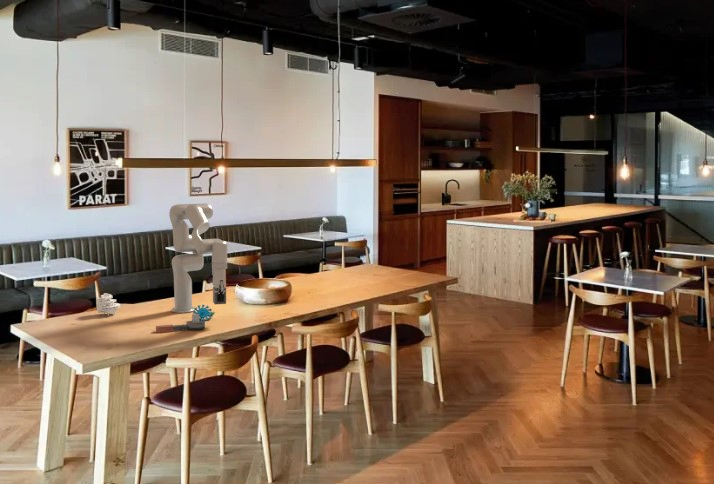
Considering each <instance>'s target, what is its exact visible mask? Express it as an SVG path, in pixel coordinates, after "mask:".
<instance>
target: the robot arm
mask: <svg viewBox="0 0 714 484" xmlns="http://www.w3.org/2000/svg"><path fill="white" fill-rule="evenodd" d="M168 214H169V219H170V224H171V226H172V239H173V240H172V241H173V248H174V251H175V252H177V253H185V254H179V255H178V254H177V255H175V256H174V257H173V258H172V259H171V266H172V272H173V291H174V292H173V293H174V299H173V300H174V307H172V308H171V312H172V313H176V314H177V313H178V314H181V313H182V314H185V313H193V312H194V311H196V310H194V309H195V308H196V307H195V306H193V282H192V277H191V276H190V274H189V273H188V272H194V271H201V270H202V269H203V268H204V262H205V261H204V260H205V259H204V255H209V254H211V268H212V270H213V271H212V273H213V274H212V287H215V288H216V289H217V288H218V294H217V301H218V302H224V288H226V269H228V243H227V241H225V240H222V239H221V238H205V239H204V238H202V237H201V236H200V235H202V234H203V233H205V232H207V231H208V230H209V228H210V226H211V225H210V222H209V219H212V217H213V215H214V209H213V207H212V206H211V205H210V204H209V203H179V204H178V203H177V204H174V205H172V206H171V207H170V209H169V213H168ZM185 220H188V221H189V222H190V224H191V226H192V229H193V230H192V231H191V232H192V233H191V234H190V233H189V232H190V230H189V225H188V224H187V222H186V221H185ZM189 252H192V253H189ZM219 287H221V288H219ZM219 289H221V290H220V291H219Z"/></svg>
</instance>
